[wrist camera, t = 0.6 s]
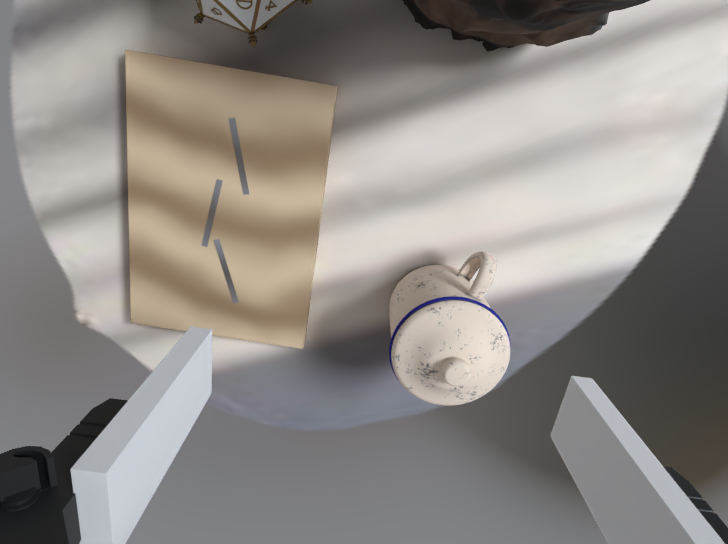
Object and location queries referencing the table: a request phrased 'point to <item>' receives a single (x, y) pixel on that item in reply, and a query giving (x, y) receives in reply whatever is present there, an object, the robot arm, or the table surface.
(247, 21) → the game die
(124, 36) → the table surface
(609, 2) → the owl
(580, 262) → the table surface
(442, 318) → the teacup with lid
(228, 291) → the board
